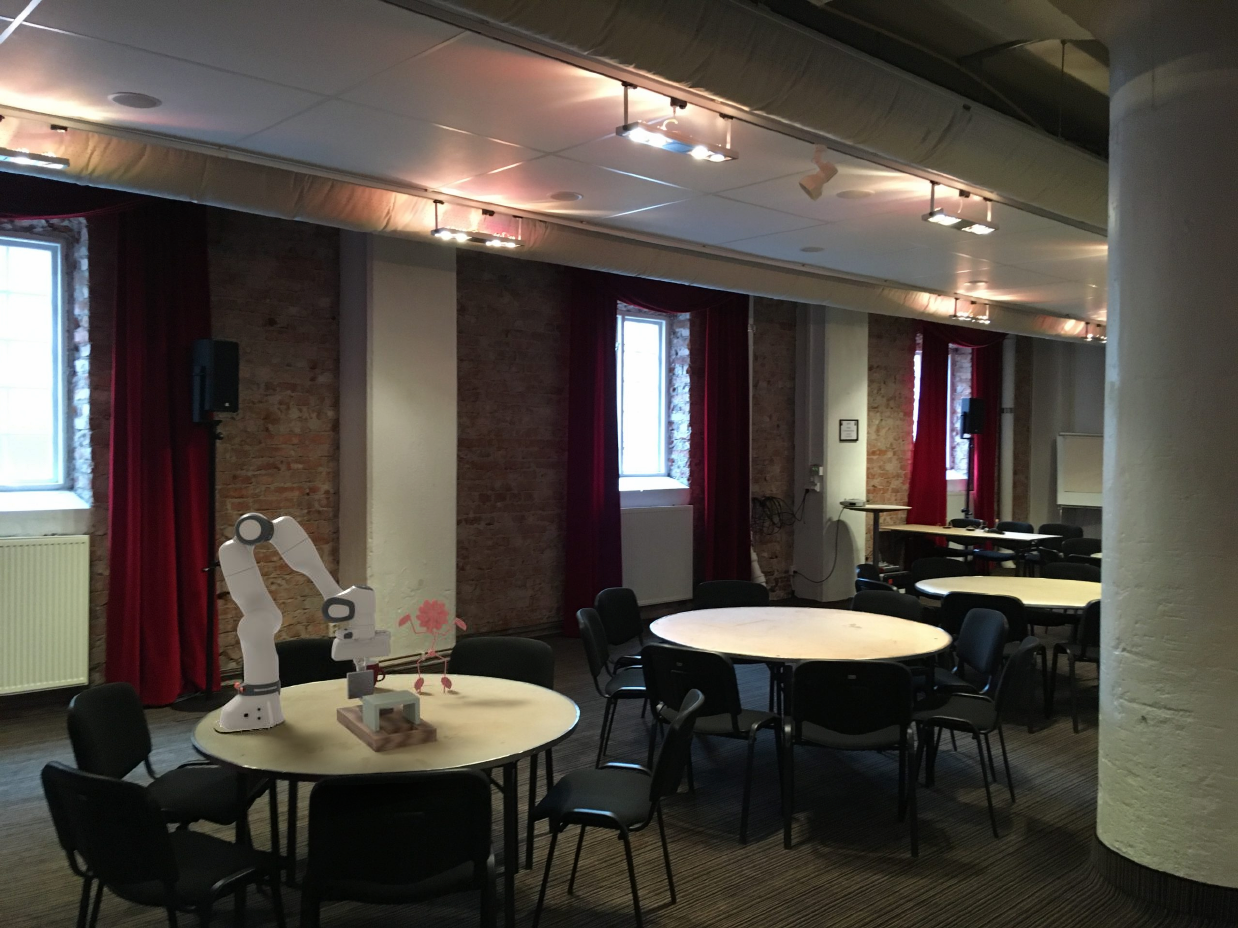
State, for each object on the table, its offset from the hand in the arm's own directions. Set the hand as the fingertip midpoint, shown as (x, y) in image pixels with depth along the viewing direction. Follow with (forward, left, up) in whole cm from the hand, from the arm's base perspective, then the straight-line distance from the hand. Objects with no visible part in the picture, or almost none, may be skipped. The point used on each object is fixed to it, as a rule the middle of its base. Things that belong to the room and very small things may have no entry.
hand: (361, 670), depth 338 cm
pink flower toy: (+34, +18, -16) cm, 41 cm away
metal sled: (+1, -7, -11) cm, 13 cm away
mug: (+15, +34, -16) cm, 40 cm away
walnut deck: (+1, -23, -15) cm, 27 cm away
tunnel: (+1, -29, -11) cm, 31 cm away
